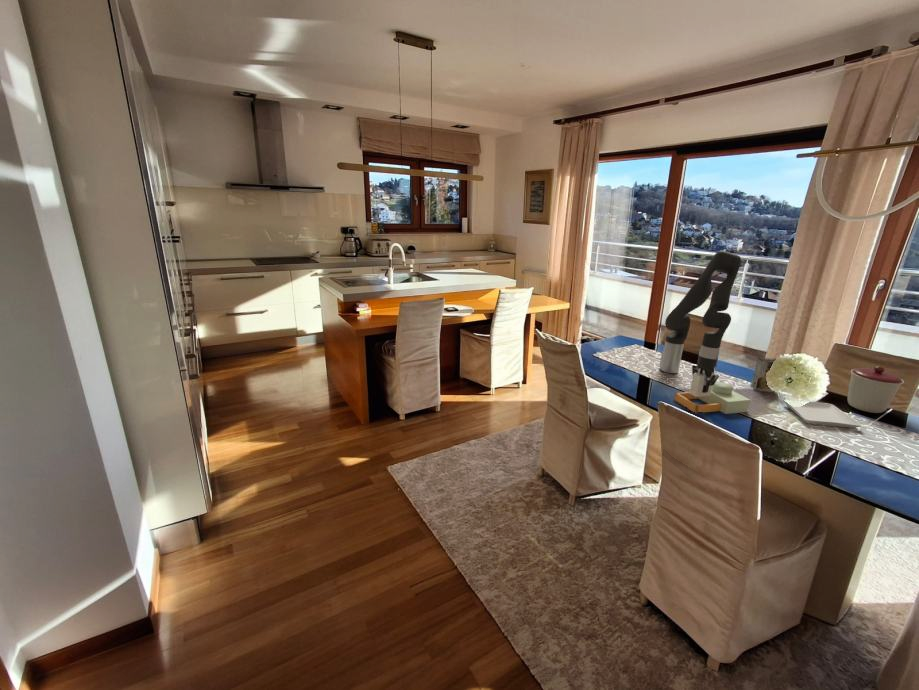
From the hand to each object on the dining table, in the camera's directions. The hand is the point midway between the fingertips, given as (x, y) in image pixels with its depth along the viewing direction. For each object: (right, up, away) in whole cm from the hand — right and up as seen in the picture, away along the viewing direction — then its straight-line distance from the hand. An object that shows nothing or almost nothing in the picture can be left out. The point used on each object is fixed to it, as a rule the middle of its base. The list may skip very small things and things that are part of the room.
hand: (700, 390), depth 197 cm
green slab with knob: (+5, -7, +4) cm, 9 cm away
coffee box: (+44, -2, +22) cm, 50 cm away
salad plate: (+49, -12, -6) cm, 51 cm away
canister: (+79, -9, +4) cm, 80 cm away
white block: (0, -2, +1) cm, 2 cm away
